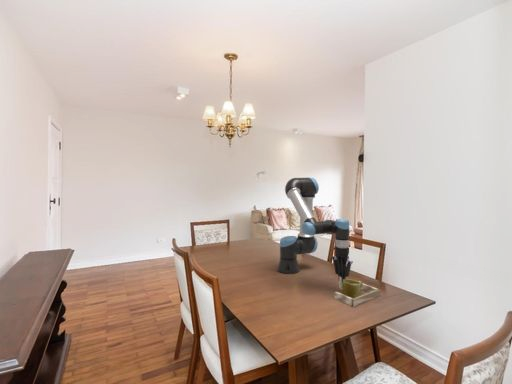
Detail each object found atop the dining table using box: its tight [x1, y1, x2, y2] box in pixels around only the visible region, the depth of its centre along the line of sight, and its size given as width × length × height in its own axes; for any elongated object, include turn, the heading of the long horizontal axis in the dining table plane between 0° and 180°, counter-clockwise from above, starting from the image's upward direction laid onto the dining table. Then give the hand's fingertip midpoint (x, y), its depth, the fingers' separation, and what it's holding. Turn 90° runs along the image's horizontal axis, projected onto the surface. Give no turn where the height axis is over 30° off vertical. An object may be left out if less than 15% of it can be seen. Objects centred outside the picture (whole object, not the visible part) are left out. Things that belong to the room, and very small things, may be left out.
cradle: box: [333, 282, 381, 308], centre depth 150 cm, size 12×22×4 cm, turn 123°
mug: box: [342, 278, 363, 298], centre depth 151 cm, size 12×10×10 cm
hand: (341, 287), depth 158 cm, fingers closed
